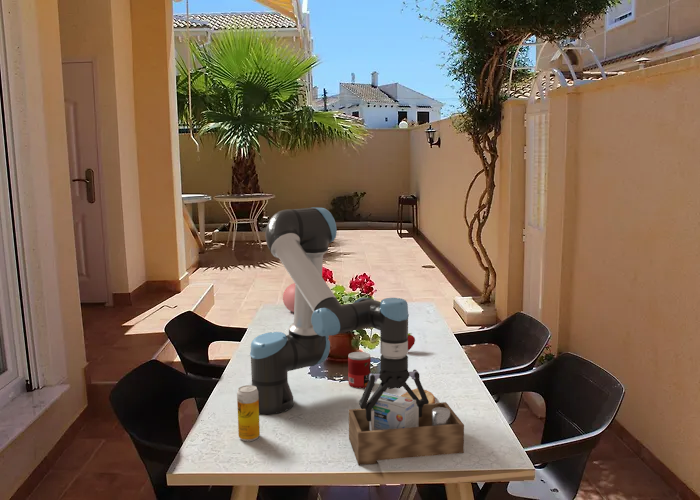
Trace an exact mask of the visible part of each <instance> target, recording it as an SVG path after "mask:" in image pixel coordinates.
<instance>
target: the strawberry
mask: <svg viewBox="0 0 700 500" xmlns="http://www.w3.org/2000/svg"><path fill="white" fill-rule="evenodd" d="M412 334H413V333H412V332H410V333H409V332H408V352H409V351H410V350H411V349H412V348H413V346H414V345H415V342H416V339H415V336H414V335H412Z"/></svg>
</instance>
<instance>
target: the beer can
mask: <svg viewBox="0 0 700 500" xmlns="http://www.w3.org/2000/svg"><path fill="white" fill-rule="evenodd" d="M236 397H237V398H236V401H237V427H238V428H237V430H238V438H240V440H241V441H243V442H254V441H256V440H257V439H258V438H259V436H260V413H259V397H258V390H257V387H256V386H252V384H248V385H247V384H246V385H242V386H240V387H238V389H237V392H236Z"/></svg>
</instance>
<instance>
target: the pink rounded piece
mask: <svg viewBox="0 0 700 500" xmlns="http://www.w3.org/2000/svg"><path fill="white" fill-rule="evenodd" d="M282 301H283V305H284V306H285V308H286V309H287V310H289V311H290V312H292V313H294V305H295V283H294V282H293V283H291V284H289V285H288V286H287V287H286V288H285V289H284V292H283V294H282Z"/></svg>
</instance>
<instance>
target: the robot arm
mask: <svg viewBox="0 0 700 500" xmlns="http://www.w3.org/2000/svg"><path fill="white" fill-rule="evenodd" d="M337 235H338V234H337V223H336V221H335V218H334V216H333V214H332V213H331V212H330V211H329V210H328V209H326V207H325V208H324V207H305V208H294V209H292V208H291V209H282V210H279V211H277V212H276V213H274V214H273V215H272V216H271V218H270V219H269V220H268V223H267V225H266V228H265V234H264V237H265V242H266V245H267V248H268V250H269V251H270V253H271V255H272V256H273V257H274V258H276V259H279V260H280V262H281V264H282V265H283V267H284V269H285V270H286V272H287V273H288V275H289V276H290V278H291V279H292V281H293V283H295V305H294V312H293V322H292V323H291V324H290V325H289V327H288V334H285V333H284V332H282V331H273V332H272V331H270V332H264V333H262V334H260V335H257V336H256V337H254V338H253V340H252V341H251V343H250V351H249V355H250V370H251V374H250V375H251V385H252V386H256V387H257V390H258V397H259V415H260V414H261V415H273V414H279V413H284V412H286V411H288V410H290V409H291V408H293V406H294V403H295V402H294V396H293V392H292V389H291V387H290V384H289V379H288V372H291V371H296V370H300V369H304V368H309V367H314V366H317V365H320V364H323V362H325V361H326V360H327V358H328V356H329V354H330V350H331V342H330V340H329V339H330V337H329V336H336V335H339V334H342V333H347V332H354V331H357V330H364V329H368V328H372V329H375V330H379V331H380V339H379V340H380V347H379V348H380V350H379V351H380V368H379V369H380V371H379V373H373V372H371V373H369V381H368V383H367V386H366V388H364V391H363V393H362V395H361V398H360V401H359V407H360V408H361V409H366V419H367V421H370V431H373V430H374V410H373V407H374V405H375V404H376V402H377V401H378V400H379V398H380V397H381V395H382V394H383V393H384V392H385V393H386V391H387V390H388V389H389V390H392V389H401V388H402V387H403V388H404V390H405V391H406V392H408V393H409V395H410V396H411V397H412V398H413V400H416V427H419V417H422V408H423V405H425V404H428V403H429V401H428V399H427V396H426V394H425V392H424V390H425V389H424V387H423V384H422V382H421V381H420V380H421V379H420V378H421V377H420V373H419V371H418V370H417V369H413V371H412V370H411V371H409V356H408V354H409V351H408V333H409V315H410V314H409V307H408V302H407V300H406V299H403V298H399V297H386V298H383V299H382V300H381V301H379V300H375V299H373V298H370V297H359V298H357V299H356V300H355V301H353V302H352V303H346V304H341V303H340V301H339V300H338V299H337V297H336V296H335V294H334V292H333V291H332V290H331V288H330V287H329V285H328V284H327V282H326V281H325V279H324V278H323V267H324V265H323V263H324V255H325V254H326V253H327V252H328V251H329V244H331V243H332V242H334V241H335V239H336V238H337ZM410 377H411V379H412V380H413V381H414V384H415V386H416V389H417V388H418V391H419V393H420V395H421V398H422V399H420V400H419V399H418V397H417V396H416V395H415V394H414V392H413V391H412V390H413V389H412V388H411V387H410V386H409V385H408V383H407V381H408V380H409V378H410ZM379 379H380V381H381V382H380V383H379V384H378V387H377V388H376V389H375V391H374V392H373V389H374V387H375V383H377V381H378V380H379ZM372 392H373V394H372ZM371 394H372V395H371ZM370 396H371V397H370Z"/></svg>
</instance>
